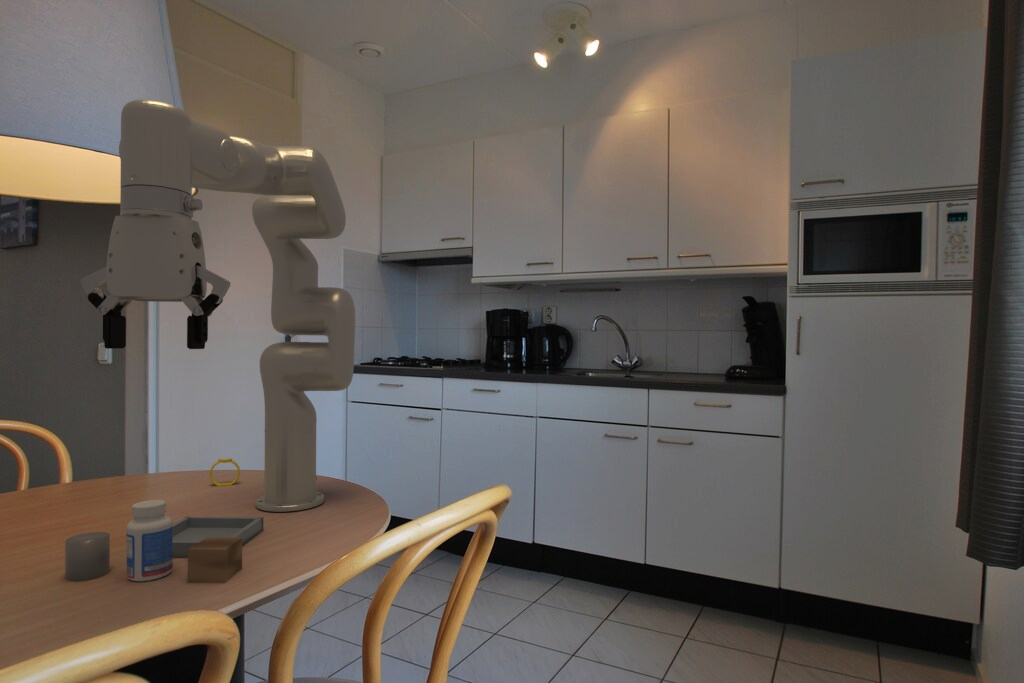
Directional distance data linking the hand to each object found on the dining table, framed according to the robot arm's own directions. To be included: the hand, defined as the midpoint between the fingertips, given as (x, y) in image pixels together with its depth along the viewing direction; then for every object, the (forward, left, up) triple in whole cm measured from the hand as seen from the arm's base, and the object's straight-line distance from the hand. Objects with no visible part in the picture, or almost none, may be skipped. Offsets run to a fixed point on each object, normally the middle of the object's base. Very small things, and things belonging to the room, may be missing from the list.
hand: (155, 348), depth 74 cm
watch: (-60, -20, -31) cm, 70 cm away
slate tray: (-22, -5, -31) cm, 38 cm away
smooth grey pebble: (-9, -14, -31) cm, 35 cm away
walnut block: (-9, +3, -31) cm, 33 cm away
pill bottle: (-9, -6, -31) cm, 33 cm away
